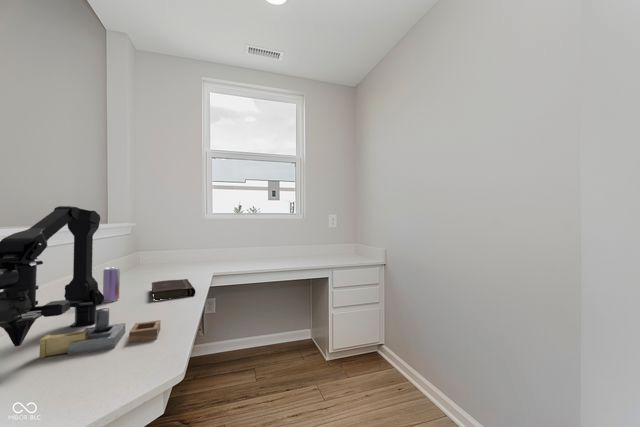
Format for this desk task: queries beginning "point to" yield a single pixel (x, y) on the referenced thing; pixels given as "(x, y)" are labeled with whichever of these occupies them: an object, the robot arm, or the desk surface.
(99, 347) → the socket
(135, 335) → the brown square tray
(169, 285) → the diary
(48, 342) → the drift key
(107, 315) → the peg
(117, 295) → the beverage can
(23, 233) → the robot arm
